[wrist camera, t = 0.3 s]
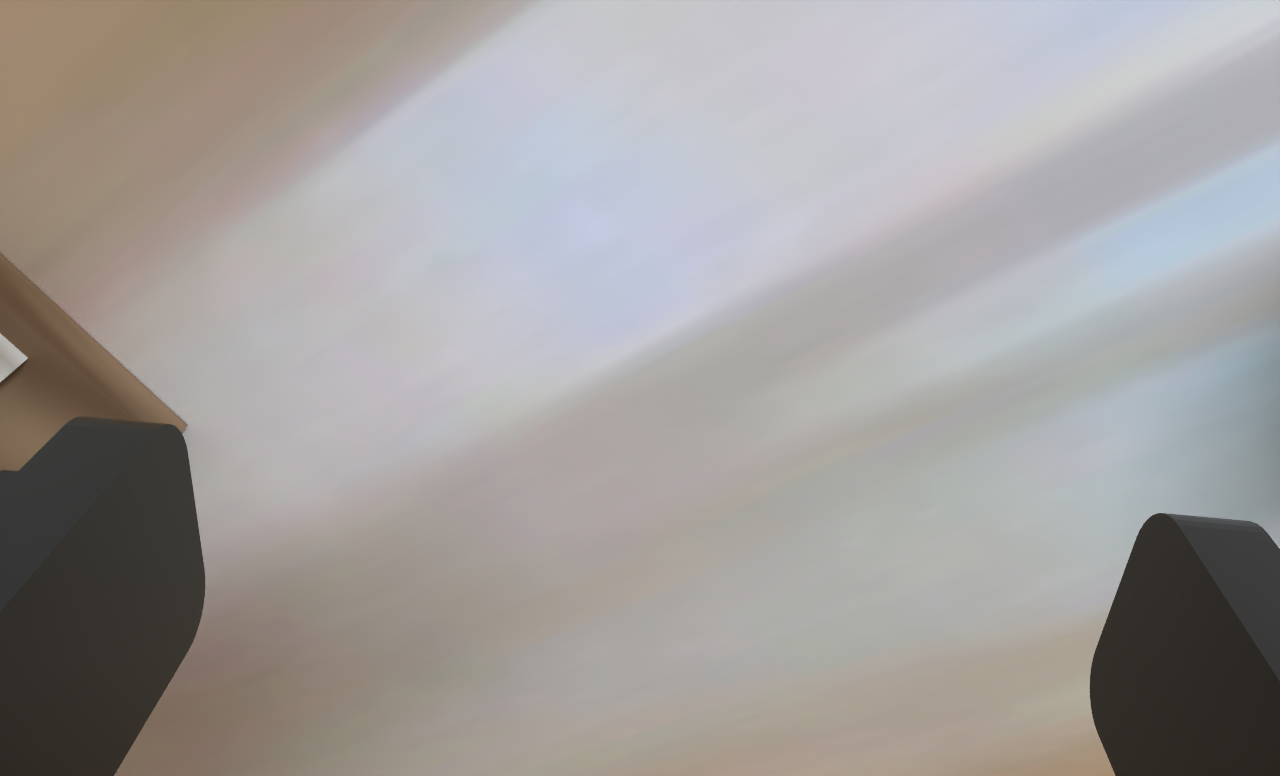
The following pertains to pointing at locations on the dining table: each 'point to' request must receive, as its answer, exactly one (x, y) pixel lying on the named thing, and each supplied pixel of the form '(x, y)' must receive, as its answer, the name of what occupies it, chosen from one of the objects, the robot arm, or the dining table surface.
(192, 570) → the robot arm
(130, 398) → the gauge board
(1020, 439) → the dining table surface
